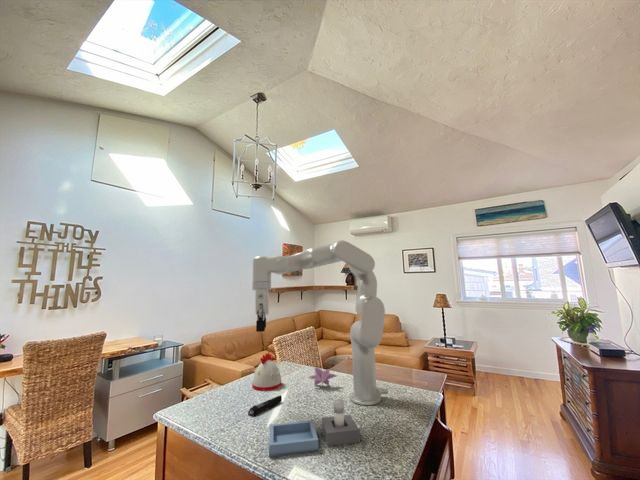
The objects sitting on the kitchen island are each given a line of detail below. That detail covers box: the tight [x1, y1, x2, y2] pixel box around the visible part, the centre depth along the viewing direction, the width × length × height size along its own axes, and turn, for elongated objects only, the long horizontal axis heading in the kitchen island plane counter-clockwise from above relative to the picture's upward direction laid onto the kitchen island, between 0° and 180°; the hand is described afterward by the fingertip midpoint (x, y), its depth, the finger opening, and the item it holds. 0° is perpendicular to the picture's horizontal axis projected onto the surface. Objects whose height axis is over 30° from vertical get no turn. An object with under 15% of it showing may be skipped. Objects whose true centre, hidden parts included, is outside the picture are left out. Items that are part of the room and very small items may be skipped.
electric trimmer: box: [247, 394, 283, 418], centre depth 107 cm, size 4×16×3 cm, turn 142°
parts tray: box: [268, 419, 319, 458], centre depth 83 cm, size 14×12×3 cm
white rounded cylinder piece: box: [333, 398, 345, 428], centre depth 87 cm, size 3×3×10 cm
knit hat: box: [251, 352, 282, 392], centre depth 133 cm, size 14×14×15 cm
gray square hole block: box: [320, 414, 360, 447], centre depth 87 cm, size 10×10×4 cm
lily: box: [309, 366, 338, 392], centre depth 128 cm, size 12×12×10 cm
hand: (261, 329), depth 110 cm, fingers open, 9 cm apart
